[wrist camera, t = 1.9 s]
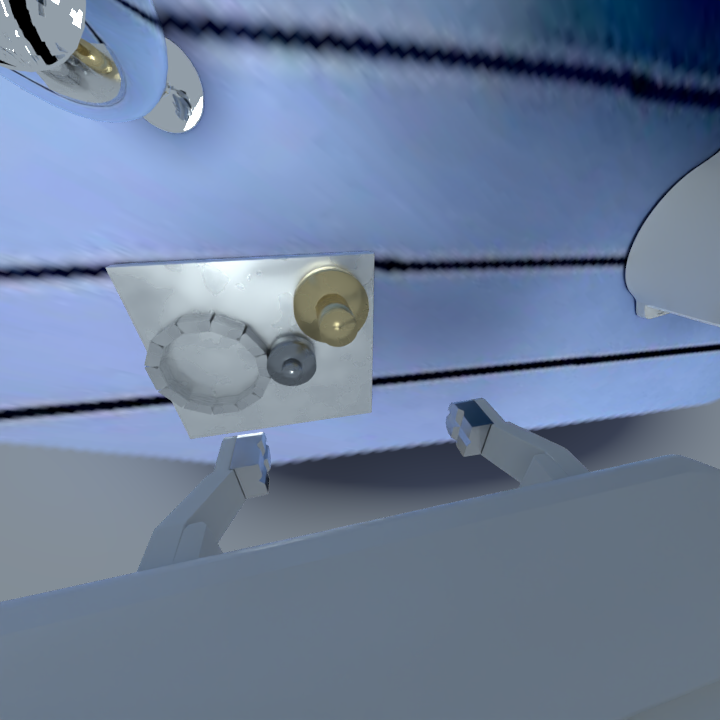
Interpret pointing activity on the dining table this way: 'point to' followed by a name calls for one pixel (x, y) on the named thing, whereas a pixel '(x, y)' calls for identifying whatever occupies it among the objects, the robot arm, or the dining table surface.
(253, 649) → the robot arm
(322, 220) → the dining table surface
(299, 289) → the brass flanged cylinder
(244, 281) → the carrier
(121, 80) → the wineglass
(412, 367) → the dining table surface
